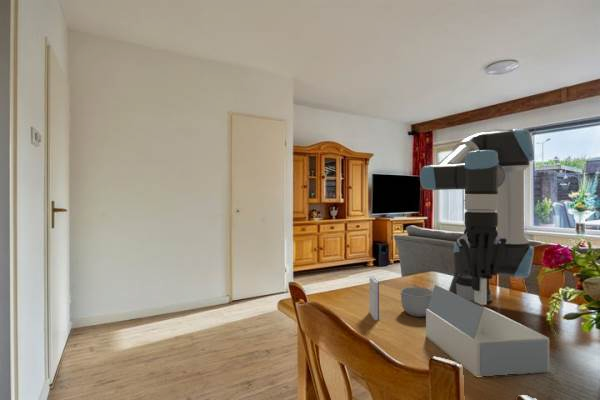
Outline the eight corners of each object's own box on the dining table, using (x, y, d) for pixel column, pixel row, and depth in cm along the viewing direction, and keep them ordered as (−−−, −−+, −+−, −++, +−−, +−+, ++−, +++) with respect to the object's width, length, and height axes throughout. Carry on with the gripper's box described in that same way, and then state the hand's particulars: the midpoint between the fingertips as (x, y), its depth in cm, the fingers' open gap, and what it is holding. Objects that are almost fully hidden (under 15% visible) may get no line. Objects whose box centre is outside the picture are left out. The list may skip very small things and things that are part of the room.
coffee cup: (469, 329, 100) (469, 280, 100) (449, 320, 108) (449, 274, 108) (491, 326, 102) (491, 278, 102) (470, 317, 110) (470, 272, 110)
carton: (484, 332, 98) (484, 305, 98) (554, 374, 75) (554, 339, 75) (424, 335, 96) (425, 308, 96) (478, 380, 72) (478, 343, 72)
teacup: (436, 320, 108) (436, 296, 108) (402, 318, 110) (402, 294, 110) (428, 306, 121) (429, 284, 121) (398, 304, 124) (398, 283, 124)
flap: (436, 284, 94) (434, 284, 94) (483, 308, 74) (482, 307, 74) (428, 309, 94) (427, 308, 94) (474, 339, 74) (472, 338, 74)
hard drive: (373, 311, 116) (373, 276, 116) (379, 320, 108) (379, 282, 107) (369, 311, 116) (369, 276, 116) (374, 320, 108) (374, 282, 107)
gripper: (493, 210, 89) (493, 297, 90) (448, 210, 88) (448, 299, 88) (515, 211, 82) (514, 306, 82) (466, 211, 80) (465, 308, 80)
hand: (480, 302), depth 85 cm, fingers closed
